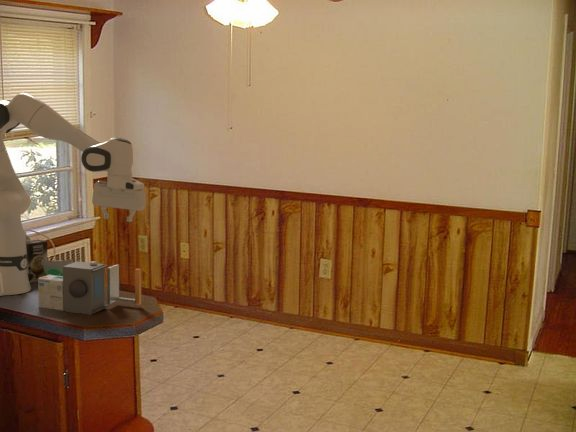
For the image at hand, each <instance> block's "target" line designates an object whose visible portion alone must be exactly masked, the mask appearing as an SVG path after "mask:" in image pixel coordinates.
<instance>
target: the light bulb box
mask: <svg viewBox="0 0 576 432" xmlns="http://www.w3.org/2000/svg"><path fill="white" fill-rule="evenodd" d="M37 284H38V285H37V286H38V287H37V288H38V289H37V291H38V307H39V308H43V309H50V310H56V311H63V276H55V275H47V276H44V277H40V278H38V282H37ZM63 312H64V311H63Z"/></svg>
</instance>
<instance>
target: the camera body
mask: <svg viewBox="0 0 576 432" xmlns="http://www.w3.org/2000/svg"><path fill="white" fill-rule="evenodd" d="M108 267H109V266H108V264H105V263H98V261H94V260H93V261H89V262H87V261H77V260H76V261H75V262H74V261H73V263H71V264H68V265H66V266H63V312H64V311H65V312H66V313H72V312H73V314H74V313H75V314H80V313H81V314H82V315H90V316H91V315H94V314H96V313H99V312H100V311H102V310H104V309H106V308H108V307H109V304H106V284H105V283H106V282H105V281H106V276H105V275H106V272H105V271H106V268H108Z"/></svg>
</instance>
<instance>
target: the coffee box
mask: <svg viewBox="0 0 576 432" xmlns="http://www.w3.org/2000/svg"><path fill="white" fill-rule="evenodd" d="M26 253H27V274H28V279H29V283H30V284H32V283H38V278H40V277H44V269H43V265H41V262H42V259H43V260H45V261H48V241H47V240H42V239H41V240H40V239H34V240H31V241H26Z"/></svg>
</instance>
